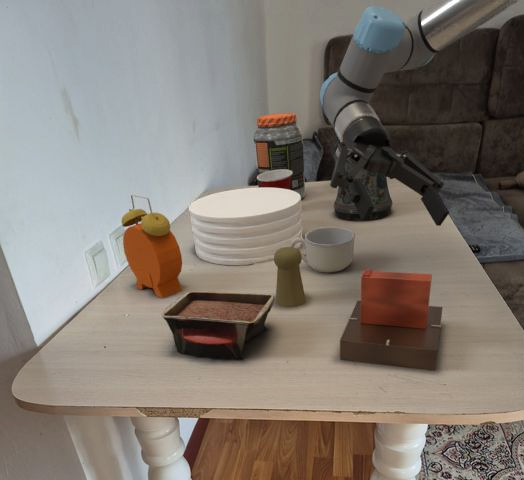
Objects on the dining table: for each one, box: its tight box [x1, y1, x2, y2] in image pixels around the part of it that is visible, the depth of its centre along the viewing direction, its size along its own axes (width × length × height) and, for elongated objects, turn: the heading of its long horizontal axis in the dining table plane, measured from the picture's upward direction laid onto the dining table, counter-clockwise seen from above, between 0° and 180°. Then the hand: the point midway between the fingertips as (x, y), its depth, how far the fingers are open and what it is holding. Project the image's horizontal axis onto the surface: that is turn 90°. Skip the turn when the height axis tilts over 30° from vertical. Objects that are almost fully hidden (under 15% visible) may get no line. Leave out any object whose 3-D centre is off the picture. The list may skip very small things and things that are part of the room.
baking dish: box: [161, 290, 275, 361], centre depth 82 cm, size 14×18×10 cm
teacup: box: [290, 225, 356, 274], centre depth 106 cm, size 14×11×8 cm
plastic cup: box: [256, 169, 293, 190], centre depth 147 cm, size 11×11×12 cm
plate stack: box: [188, 187, 304, 266], centre depth 123 cm, size 28×28×12 cm
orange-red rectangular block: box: [360, 269, 433, 329], centre depth 74 cm, size 10×2×8 cm, turn 70°
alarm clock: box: [121, 194, 183, 299], centre depth 102 cm, size 13×6×20 cm, turn 45°
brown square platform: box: [339, 300, 443, 372], centre depth 77 cm, size 14×14×4 cm
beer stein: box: [332, 137, 393, 222], centre depth 135 cm, size 16×19×25 cm
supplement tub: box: [253, 112, 306, 200], centre depth 158 cm, size 16×16×26 cm
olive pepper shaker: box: [273, 247, 307, 308], centre depth 92 cm, size 6×6×11 cm
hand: (406, 216), depth 74 cm, fingers open, 13 cm apart
